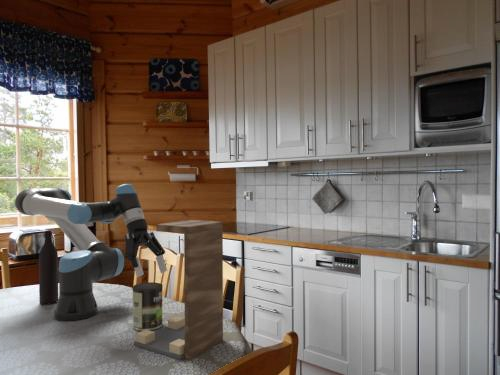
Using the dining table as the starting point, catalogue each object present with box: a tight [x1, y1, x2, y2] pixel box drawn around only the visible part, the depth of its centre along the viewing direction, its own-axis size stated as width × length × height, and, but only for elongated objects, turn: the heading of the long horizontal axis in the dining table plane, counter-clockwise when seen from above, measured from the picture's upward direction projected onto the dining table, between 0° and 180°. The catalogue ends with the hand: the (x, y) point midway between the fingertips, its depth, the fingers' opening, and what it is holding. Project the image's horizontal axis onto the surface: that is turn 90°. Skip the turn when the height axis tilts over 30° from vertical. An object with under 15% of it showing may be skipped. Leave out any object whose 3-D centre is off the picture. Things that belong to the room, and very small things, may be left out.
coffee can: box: [132, 281, 164, 332], centre depth 139 cm, size 10×10×14 cm
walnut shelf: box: [155, 219, 224, 360], centre depth 123 cm, size 13×16×38 cm
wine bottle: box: [38, 230, 59, 305], centre depth 165 cm, size 7×7×30 cm
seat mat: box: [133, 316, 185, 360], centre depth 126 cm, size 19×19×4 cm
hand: (152, 273), depth 147 cm, fingers open, 13 cm apart
